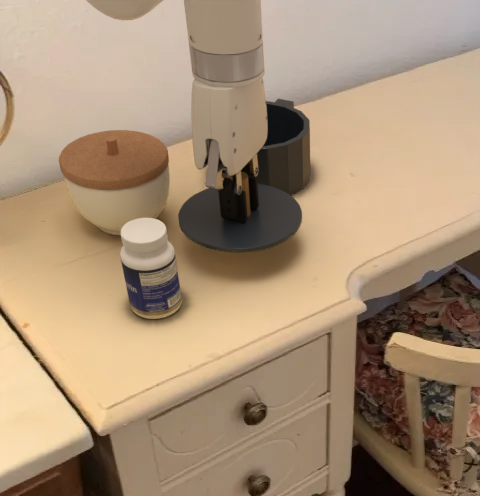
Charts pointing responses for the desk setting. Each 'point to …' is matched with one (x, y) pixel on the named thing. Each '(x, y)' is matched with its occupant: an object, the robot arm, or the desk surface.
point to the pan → (285, 148)
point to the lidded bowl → (116, 177)
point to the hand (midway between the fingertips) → (240, 211)
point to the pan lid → (235, 233)
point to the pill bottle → (150, 268)
